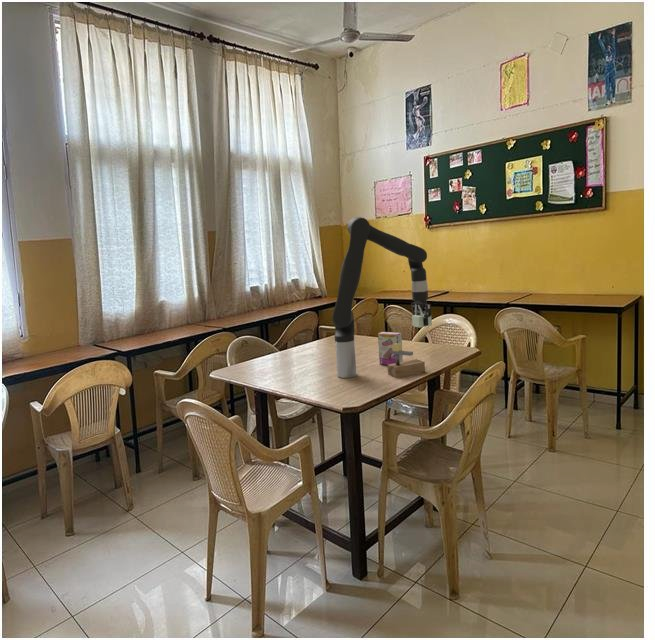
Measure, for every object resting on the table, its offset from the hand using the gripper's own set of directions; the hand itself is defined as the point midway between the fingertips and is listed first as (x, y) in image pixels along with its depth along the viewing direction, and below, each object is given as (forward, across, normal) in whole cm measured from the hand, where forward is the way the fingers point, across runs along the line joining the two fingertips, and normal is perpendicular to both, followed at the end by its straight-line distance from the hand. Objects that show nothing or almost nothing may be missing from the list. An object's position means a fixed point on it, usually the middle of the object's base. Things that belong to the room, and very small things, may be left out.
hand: (422, 324), depth 243 cm
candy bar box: (+21, -16, -10) cm, 28 cm away
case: (+21, +3, -12) cm, 25 cm away
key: (+16, +6, -16) cm, 23 cm away
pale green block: (0, 0, 0) cm, 0 cm away
